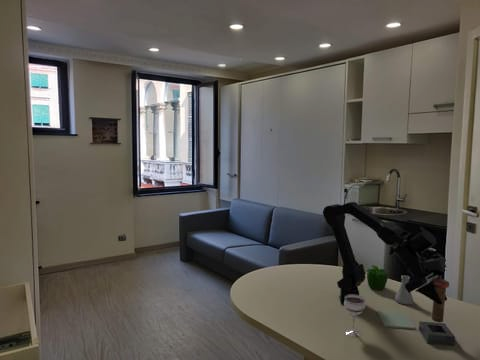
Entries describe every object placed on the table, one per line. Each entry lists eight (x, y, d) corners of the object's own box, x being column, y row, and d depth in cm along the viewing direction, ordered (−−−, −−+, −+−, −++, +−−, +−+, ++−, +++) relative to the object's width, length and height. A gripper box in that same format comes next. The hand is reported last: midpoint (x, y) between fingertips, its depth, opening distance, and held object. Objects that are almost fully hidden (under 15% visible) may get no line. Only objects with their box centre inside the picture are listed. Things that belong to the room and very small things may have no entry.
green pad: (384, 326, 124) (384, 325, 124) (377, 312, 133) (378, 311, 133) (415, 329, 122) (415, 327, 122) (406, 314, 132) (406, 313, 132)
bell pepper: (388, 286, 156) (390, 264, 155) (384, 293, 149) (386, 270, 148) (368, 282, 161) (370, 260, 159) (364, 288, 154) (365, 266, 152)
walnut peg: (432, 322, 115) (435, 284, 113) (426, 315, 119) (429, 278, 118) (448, 324, 114) (451, 285, 112) (442, 316, 119) (445, 279, 117)
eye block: (427, 343, 114) (428, 334, 114) (418, 329, 122) (419, 321, 122) (454, 345, 113) (455, 336, 113) (443, 331, 121) (444, 323, 121)
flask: (416, 306, 139) (418, 281, 137) (396, 304, 140) (397, 279, 139) (411, 297, 146) (412, 274, 145) (392, 296, 147) (393, 272, 146)
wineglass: (347, 325, 125) (348, 292, 123) (366, 332, 120) (368, 298, 119) (339, 333, 119) (340, 299, 118) (359, 341, 115) (361, 305, 114)
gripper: (417, 253, 111) (453, 300, 104) (441, 242, 123) (475, 283, 116) (391, 270, 118) (423, 315, 111) (416, 257, 130) (447, 297, 123)
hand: (443, 302), depth 115 cm, fingers closed on walnut peg, 3 cm apart
